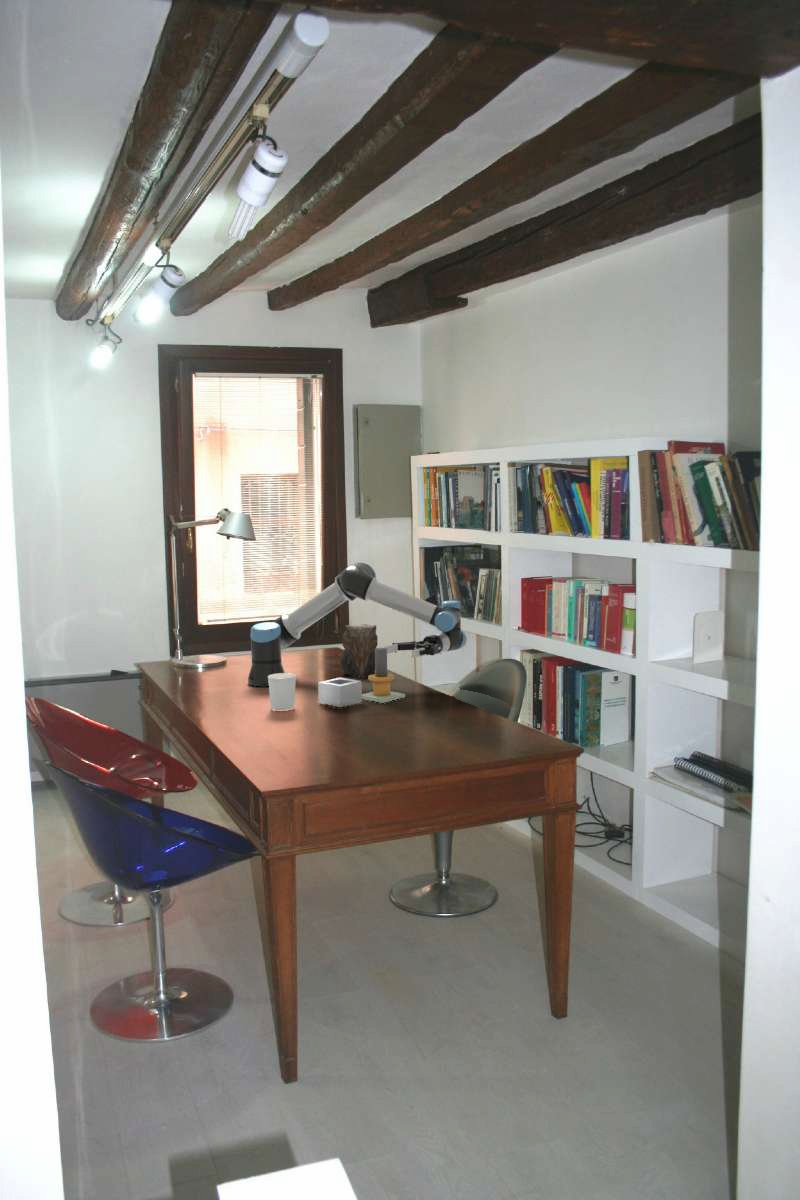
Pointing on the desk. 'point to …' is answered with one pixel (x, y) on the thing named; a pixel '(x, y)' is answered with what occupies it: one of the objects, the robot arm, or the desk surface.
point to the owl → (359, 650)
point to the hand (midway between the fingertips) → (398, 652)
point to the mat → (383, 697)
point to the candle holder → (282, 690)
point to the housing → (340, 692)
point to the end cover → (381, 674)
